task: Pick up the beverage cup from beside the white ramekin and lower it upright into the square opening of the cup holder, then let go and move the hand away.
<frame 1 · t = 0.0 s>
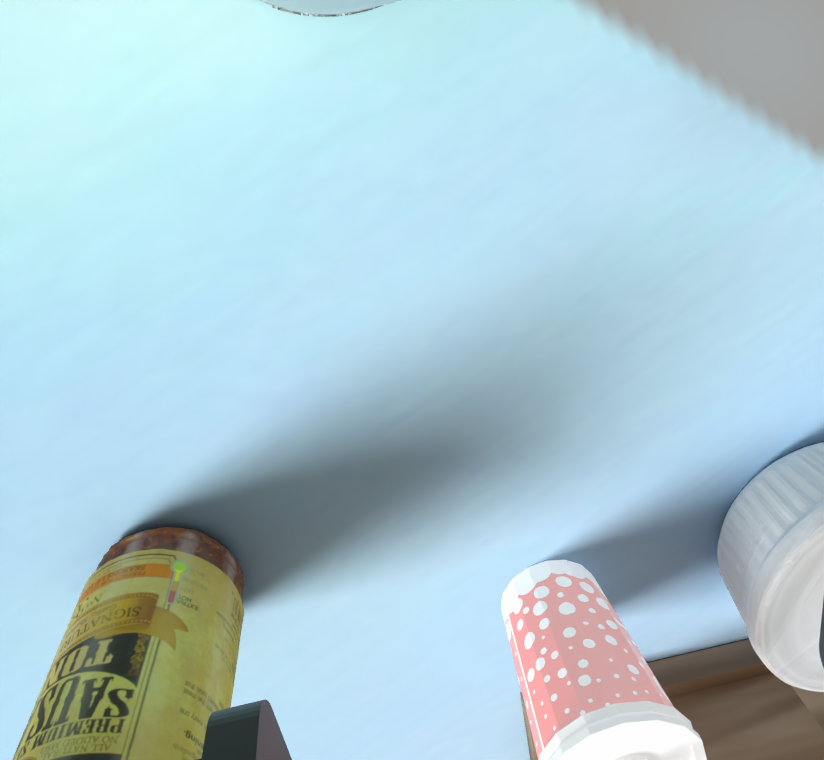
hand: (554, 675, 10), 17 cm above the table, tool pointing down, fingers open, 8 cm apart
ramekin: (804, 516, 33), on the table
beverage cup: (547, 594, 33), on the table
sauce bottle: (169, 575, 30), on the table
cup holder: (689, 727, 39), on the table
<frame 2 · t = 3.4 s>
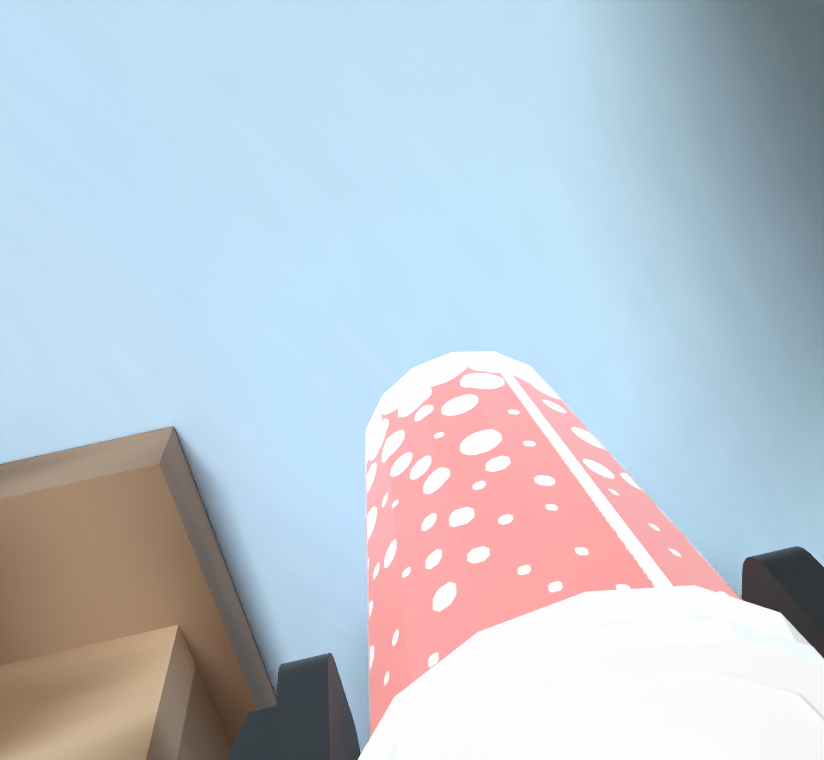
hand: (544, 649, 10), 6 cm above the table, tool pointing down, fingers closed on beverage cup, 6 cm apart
beverage cup: (464, 440, 16), on the table, touching gripper
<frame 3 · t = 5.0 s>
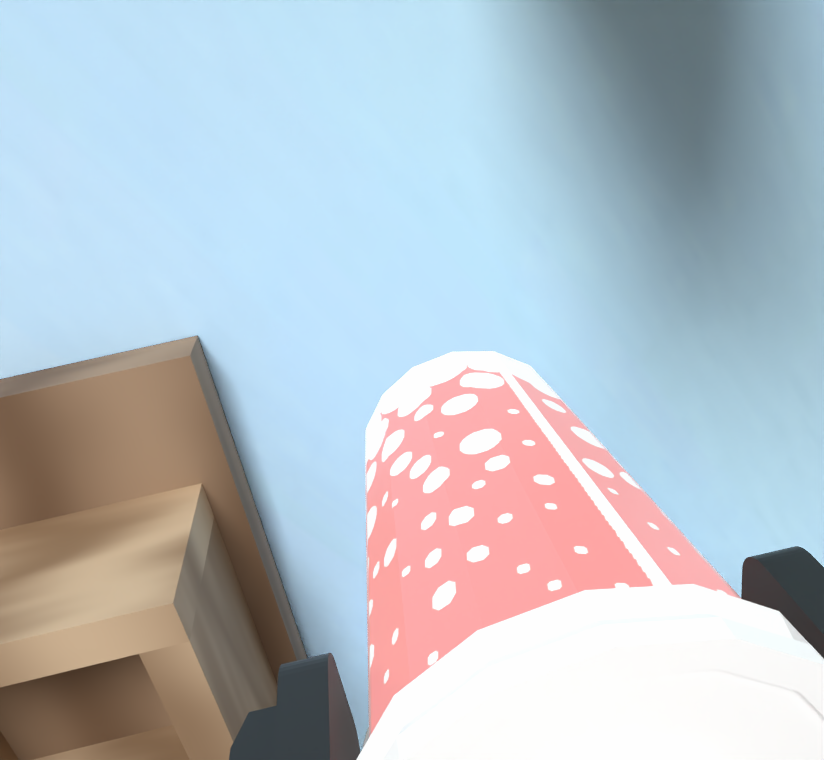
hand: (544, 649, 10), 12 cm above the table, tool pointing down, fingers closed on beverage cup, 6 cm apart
beverage cup: (463, 439, 16), point 6 cm above the table, touching gripper
cup holder: (104, 618, 24), on the table
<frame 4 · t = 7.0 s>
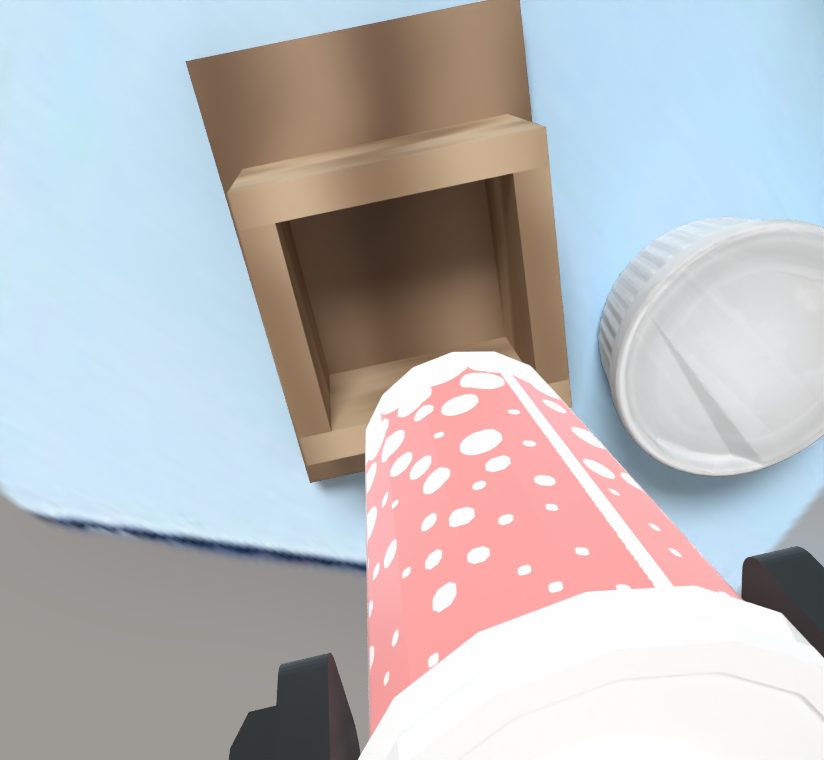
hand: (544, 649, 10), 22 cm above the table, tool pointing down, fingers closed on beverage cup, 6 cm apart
ramekin: (689, 315, 33), on the table
beverage cup: (464, 440, 16), point 16 cm above the table, touching gripper
cup holder: (397, 260, 30), on the table
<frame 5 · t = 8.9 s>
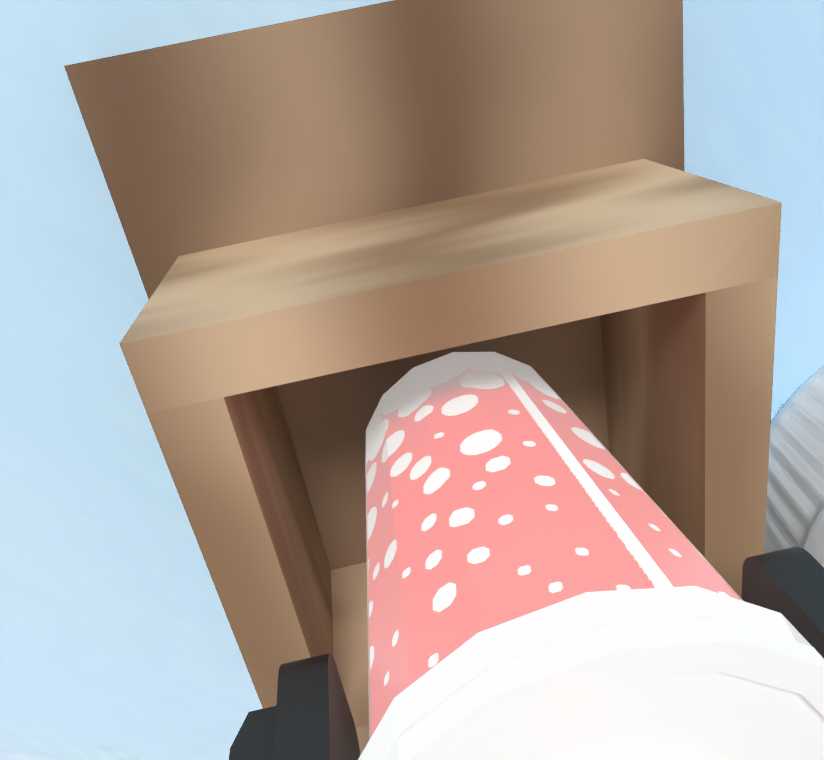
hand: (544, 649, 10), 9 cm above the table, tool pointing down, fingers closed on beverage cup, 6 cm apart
beverage cup: (464, 440, 16), point 3 cm above the table, touching gripper
cup holder: (440, 386, 19), on the table
when the fingers open (8 cm above the table, at t = 10.3 s): beverage cup stays where it is, resting on cup holder.
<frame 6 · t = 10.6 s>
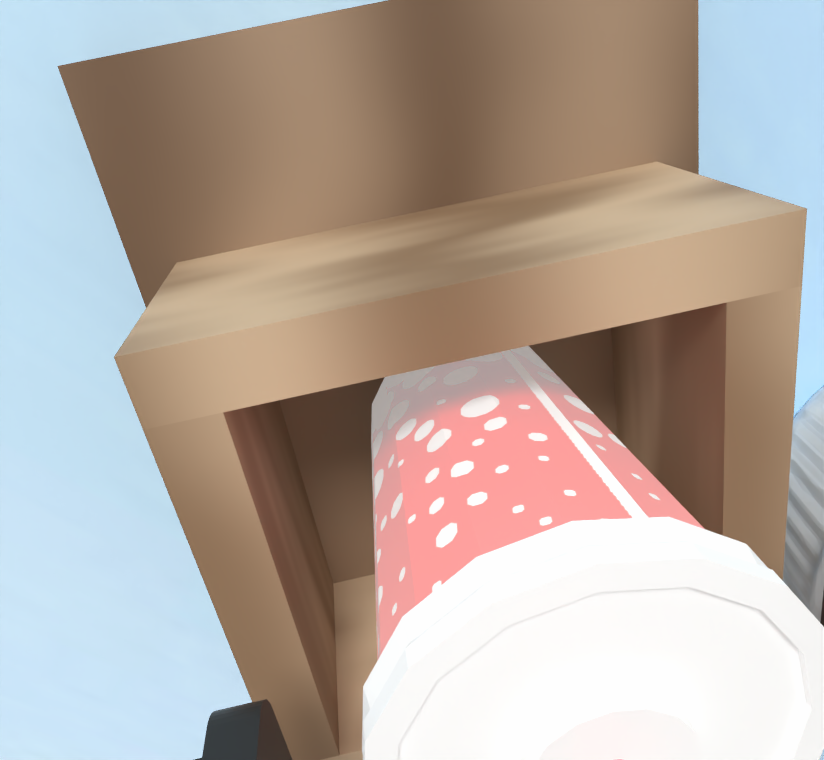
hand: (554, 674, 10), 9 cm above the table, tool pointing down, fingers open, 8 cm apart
beverage cup: (464, 415, 17), point 1 cm above the table, touching cup holder
cup holder: (446, 395, 18), on the table
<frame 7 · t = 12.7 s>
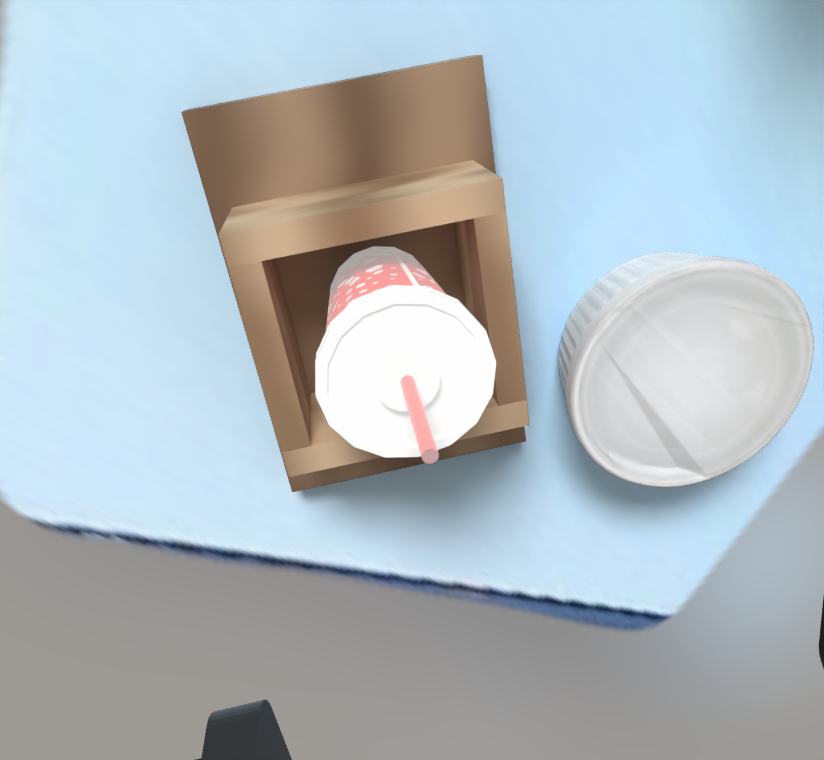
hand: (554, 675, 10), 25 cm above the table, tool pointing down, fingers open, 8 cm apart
ramekin: (642, 339, 36), on the table
beverage cup: (380, 295, 32), point 1 cm above the table, touching cup holder
cup holder: (373, 288, 33), on the table
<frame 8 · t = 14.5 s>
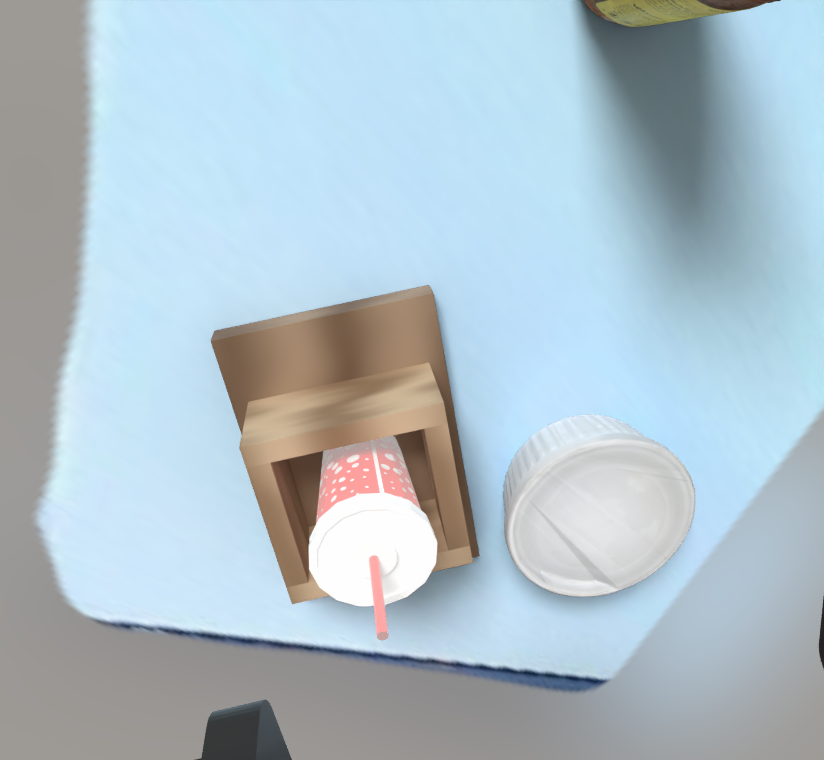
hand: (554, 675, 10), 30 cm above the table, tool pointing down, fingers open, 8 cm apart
ramekin: (572, 473, 46), on the table
beverage cup: (361, 455, 41), point 1 cm above the table, touching cup holder
cup holder: (357, 446, 43), on the table
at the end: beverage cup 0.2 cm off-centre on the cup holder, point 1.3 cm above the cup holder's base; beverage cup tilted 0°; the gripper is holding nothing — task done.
